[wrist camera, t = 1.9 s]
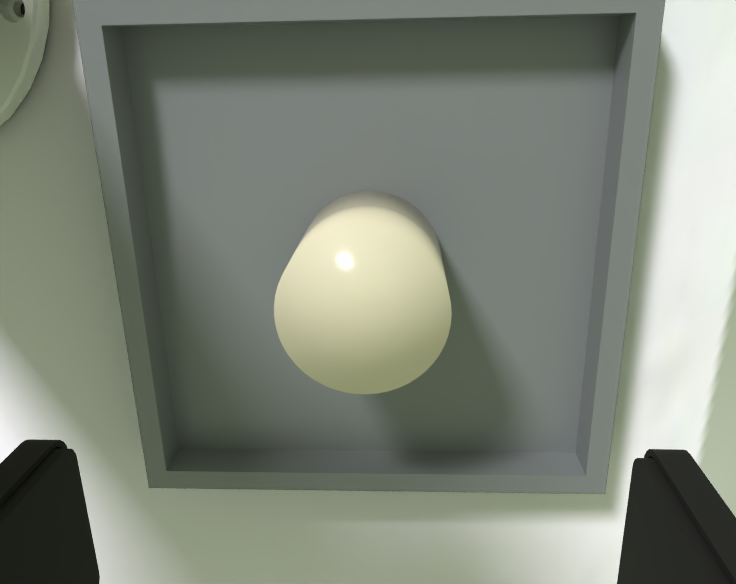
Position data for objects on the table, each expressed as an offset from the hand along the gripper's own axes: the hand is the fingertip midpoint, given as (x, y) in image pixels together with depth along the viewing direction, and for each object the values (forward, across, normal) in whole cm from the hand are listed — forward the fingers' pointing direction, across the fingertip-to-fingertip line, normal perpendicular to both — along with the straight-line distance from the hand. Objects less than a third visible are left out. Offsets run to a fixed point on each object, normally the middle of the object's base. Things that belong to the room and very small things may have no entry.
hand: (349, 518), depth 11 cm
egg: (+14, 0, 0) cm, 14 cm away
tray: (+15, 0, 0) cm, 15 cm away
